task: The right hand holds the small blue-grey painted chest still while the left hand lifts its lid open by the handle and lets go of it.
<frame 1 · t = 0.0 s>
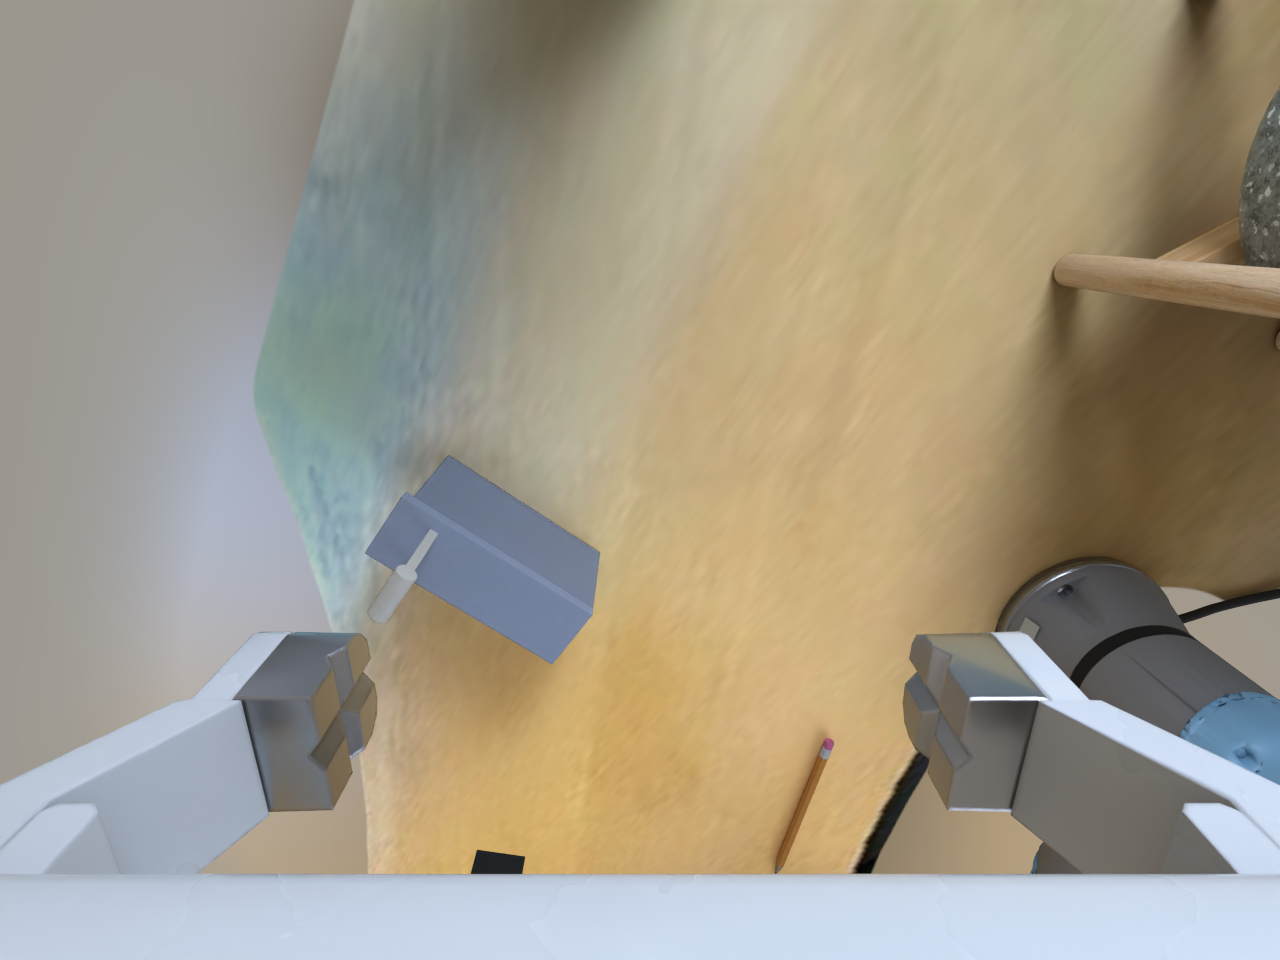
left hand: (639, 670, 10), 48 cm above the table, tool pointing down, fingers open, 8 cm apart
chest: (509, 528, 62), on the table
pencil: (800, 805, 74), on the table
lid: (471, 606, 49), point 14 cm above the table, hinge at 0.0°
planter: (1250, 173, 52), on the table
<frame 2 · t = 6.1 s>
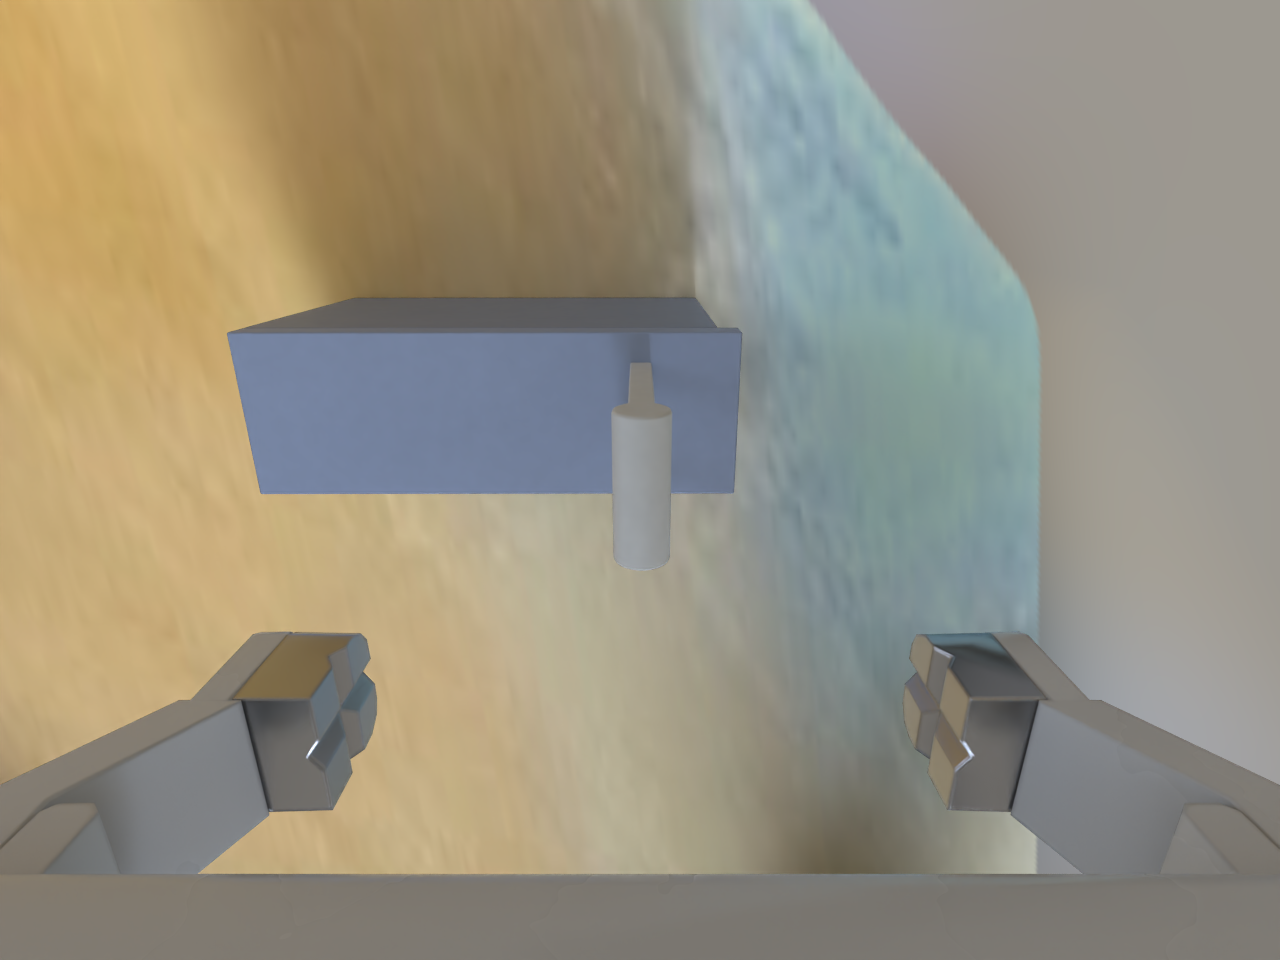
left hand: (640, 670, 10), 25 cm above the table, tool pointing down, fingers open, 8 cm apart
chest: (528, 357, 33), on the table
lid: (469, 445, 20), point 14 cm above the table, hinge at 0.0°
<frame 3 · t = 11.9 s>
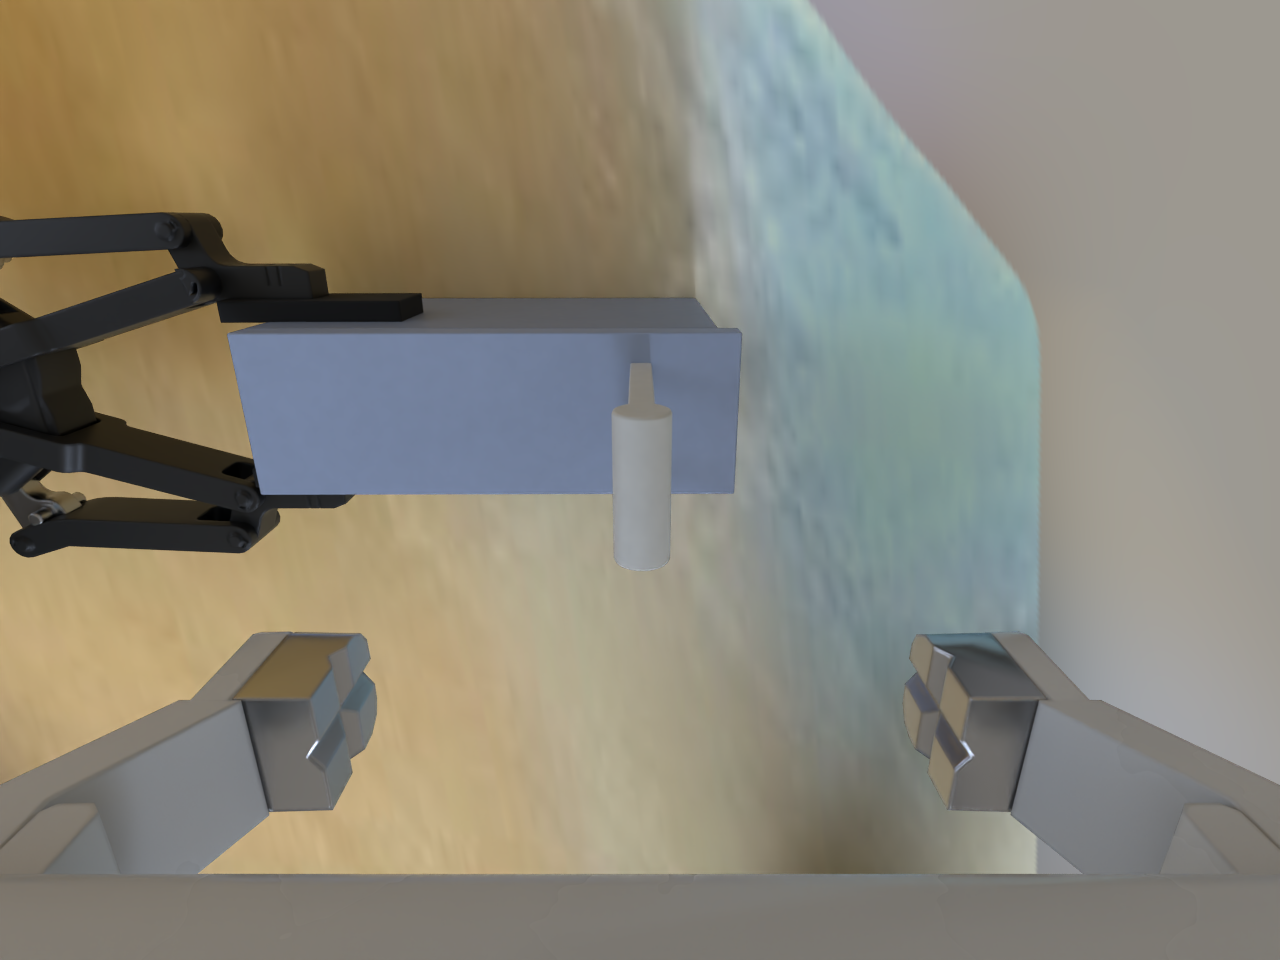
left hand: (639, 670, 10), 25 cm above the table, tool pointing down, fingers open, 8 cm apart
right hand: (420, 390, 27), fingers closed on chest, 6 cm apart
chest: (528, 358, 33), on the table, touching right hand
lid: (469, 445, 20), point 14 cm above the table, hinge at 0.0°
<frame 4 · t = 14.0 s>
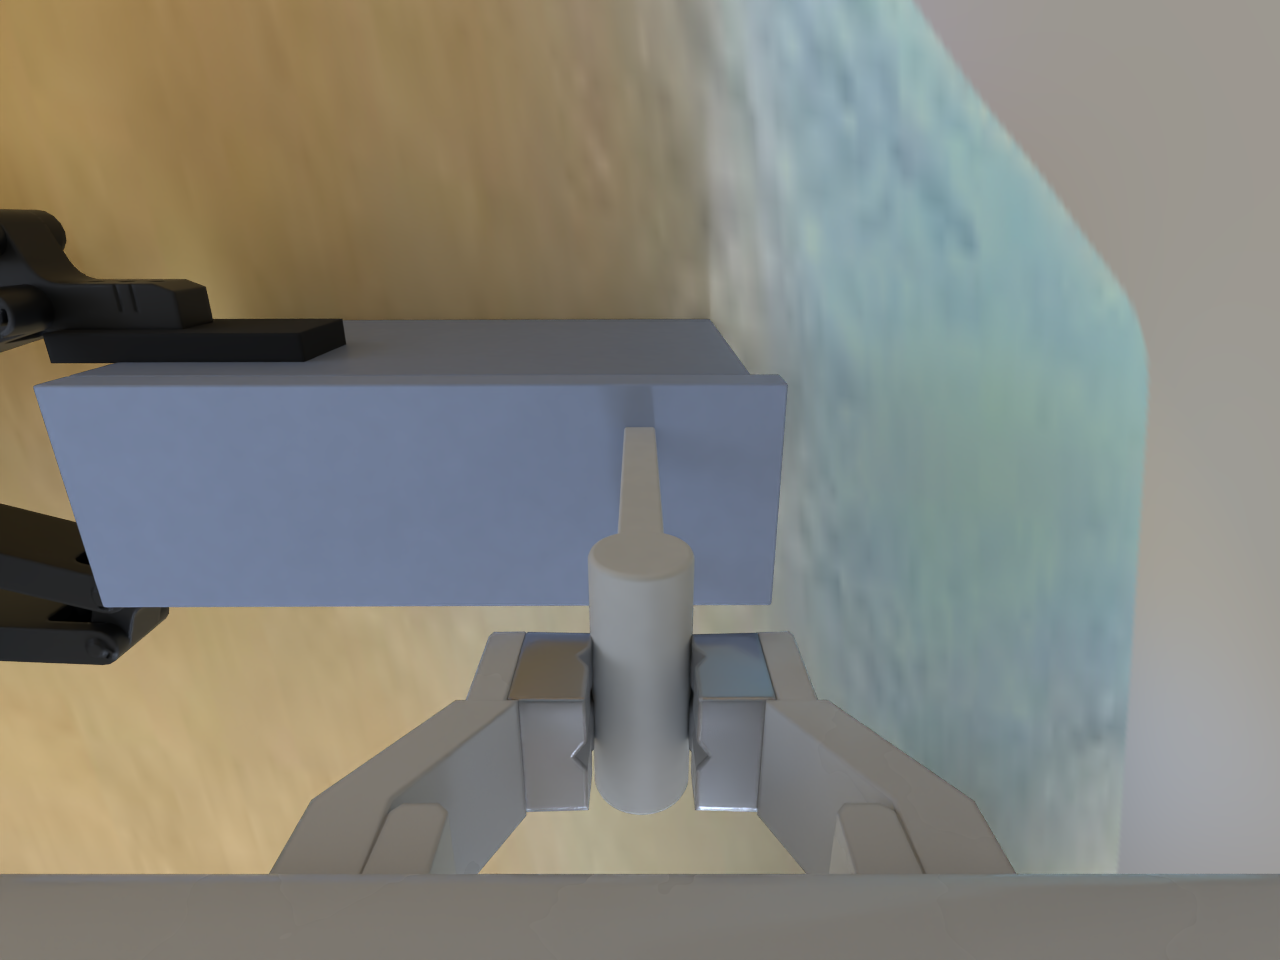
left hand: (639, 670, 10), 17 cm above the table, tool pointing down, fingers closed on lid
chest: (497, 395, 26), on the table, touching right hand
lid: (377, 565, 13), point 14 cm above the table, hinge at -0.1°, touching left hand
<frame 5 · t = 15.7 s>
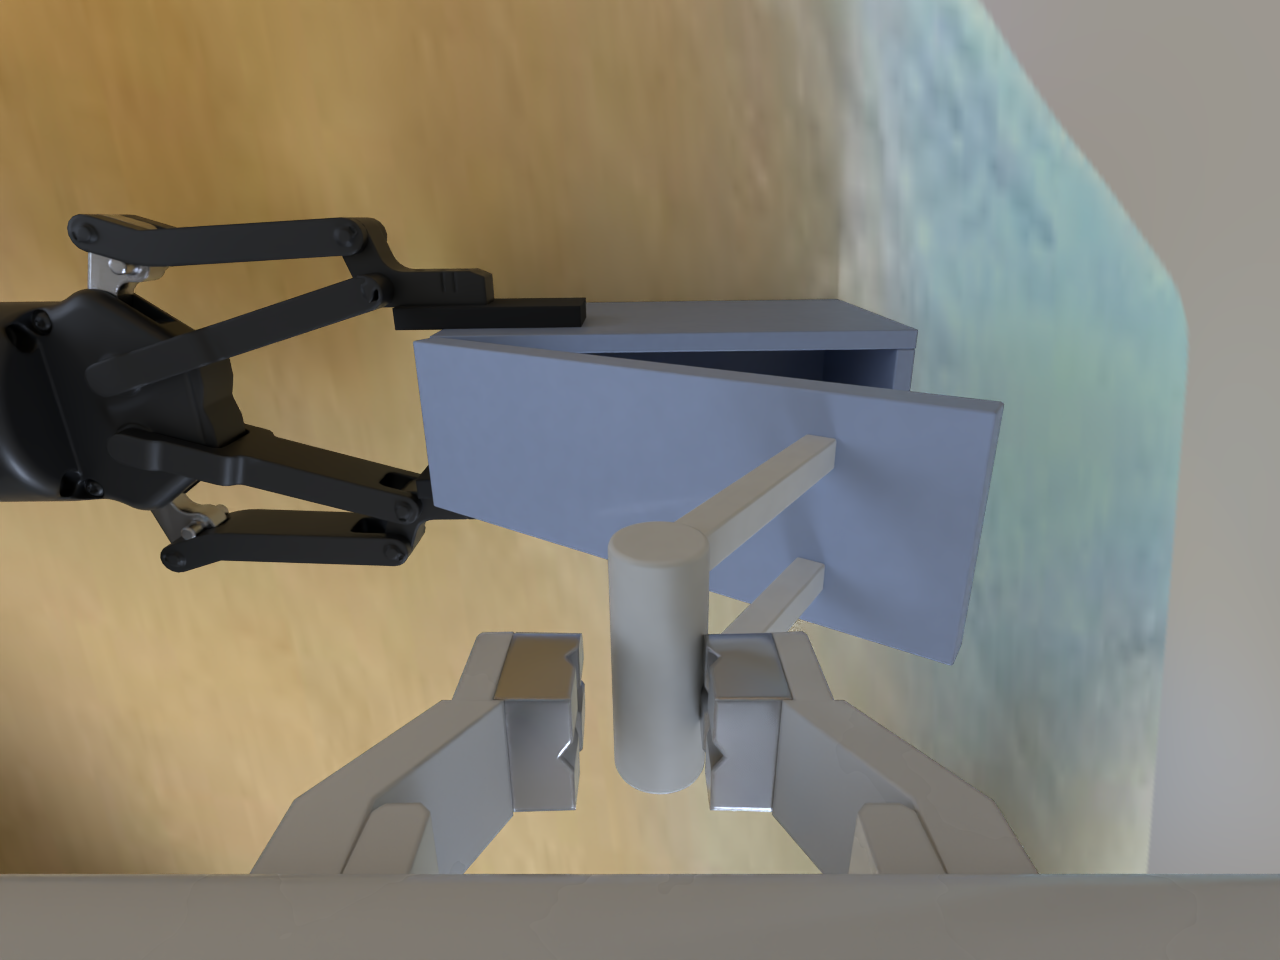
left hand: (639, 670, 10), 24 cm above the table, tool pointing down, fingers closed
right hand: (585, 397, 26), fingers closed on chest, 6 cm apart
chest: (663, 362, 33), on the table, touching right hand
lid: (553, 513, 16), point 18 cm above the table, hinge at 34.3°, touching left hand
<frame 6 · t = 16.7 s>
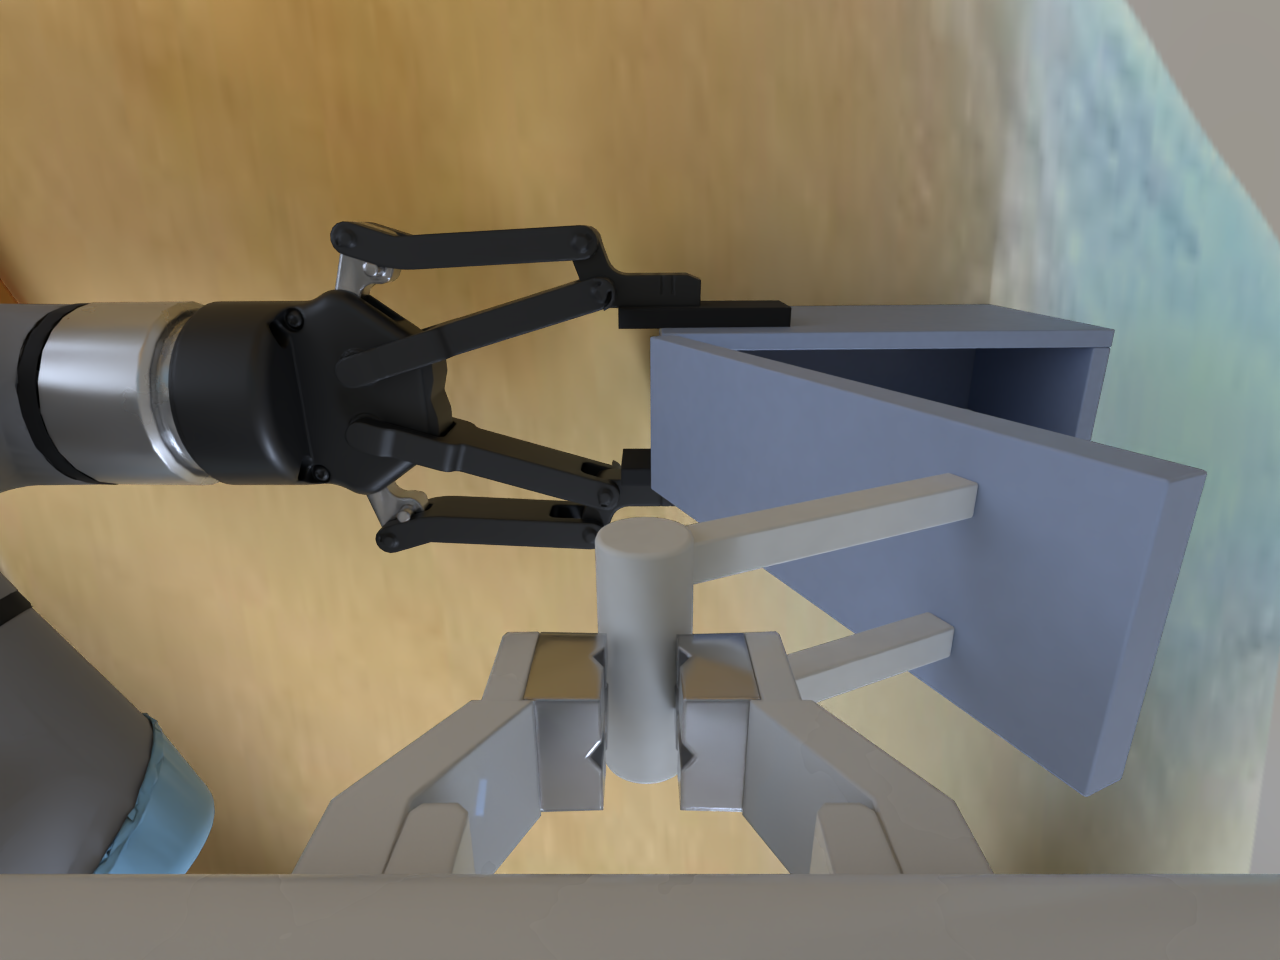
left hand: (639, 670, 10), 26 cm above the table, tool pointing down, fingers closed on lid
right hand: (778, 392, 28), fingers closed on chest, 6 cm apart
chest: (819, 363, 34), on the table, touching right hand
lid: (683, 506, 16), point 19 cm above the table, hinge at 64.2°, touching left hand
when the right hand's fingers open (7 cm above the table, at t = 20.9 s): chest stays where it is, on the table.
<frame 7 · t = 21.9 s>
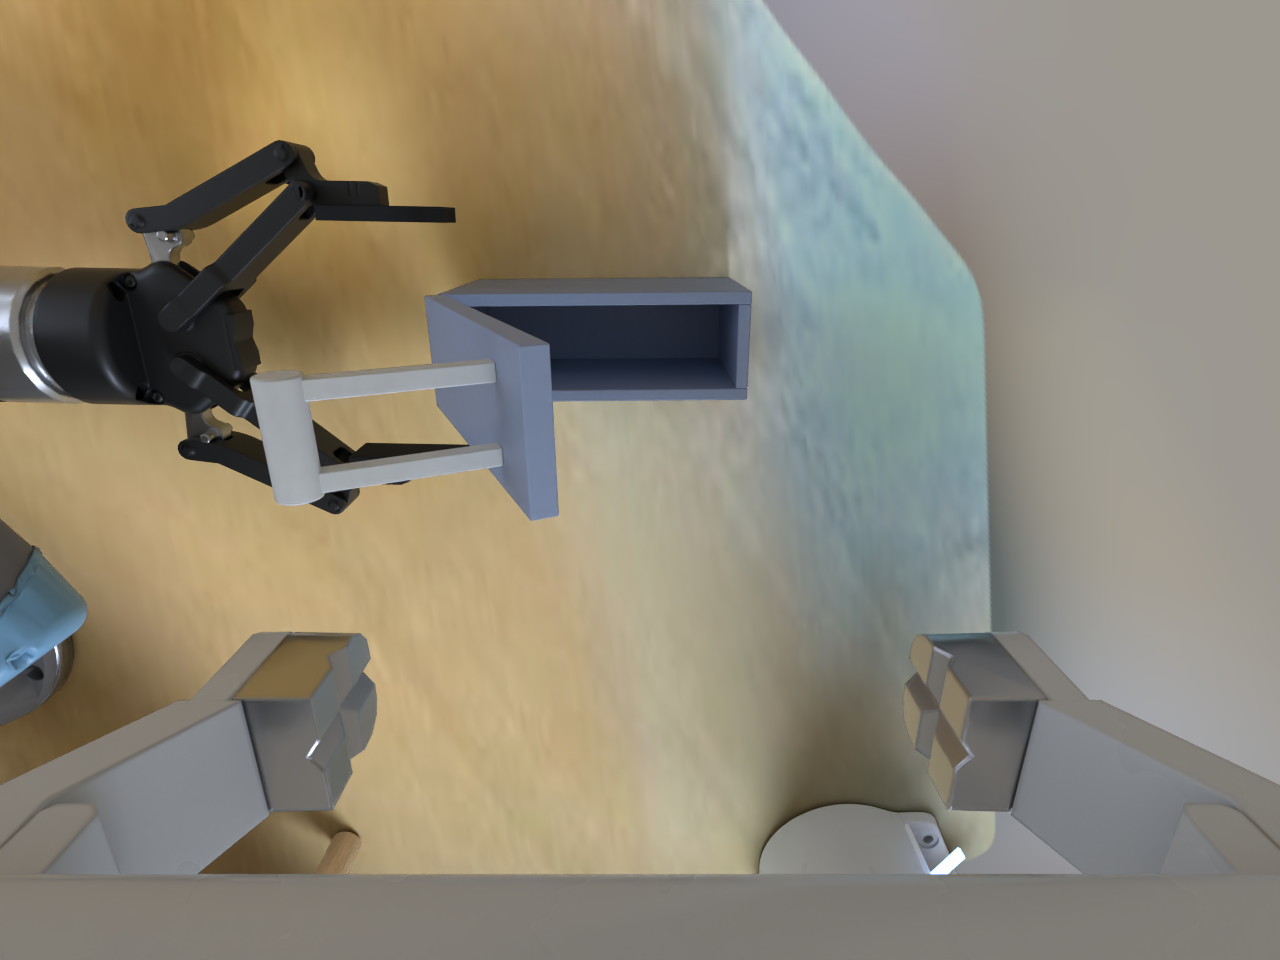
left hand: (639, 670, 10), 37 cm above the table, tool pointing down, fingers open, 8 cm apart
right hand: (459, 343, 39), fingers open, 13 cm apart
chest: (604, 323, 45), on the table
lid: (385, 392, 27), point 19 cm above the table, hinge at 64.5°
planter: (307, 940, 65), on the table
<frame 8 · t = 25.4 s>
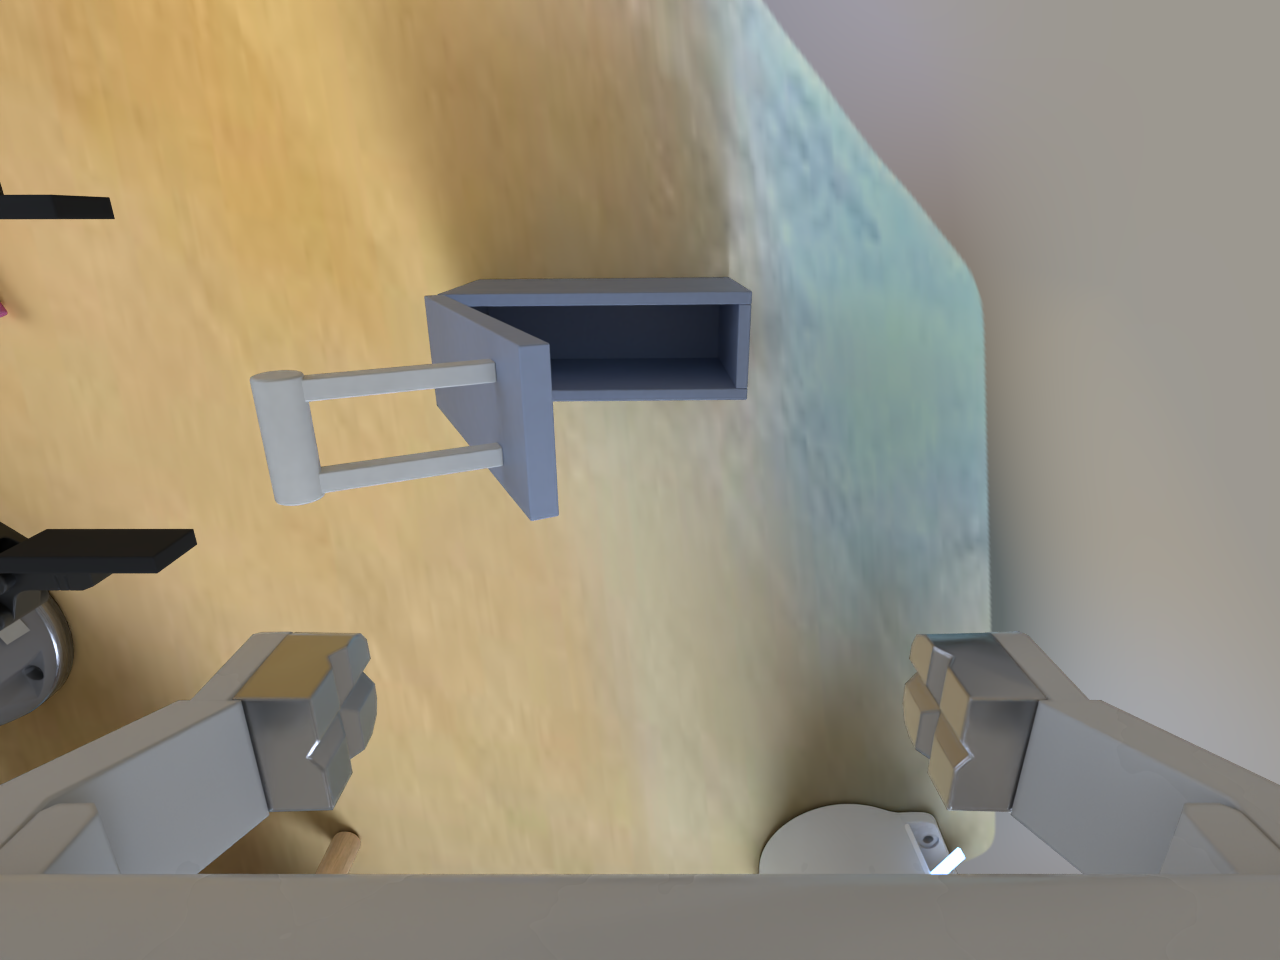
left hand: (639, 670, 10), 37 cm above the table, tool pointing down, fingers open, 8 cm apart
chest: (604, 323, 45), on the table
lid: (385, 392, 27), point 19 cm above the table, hinge at 64.5°
planter: (307, 940, 65), on the table
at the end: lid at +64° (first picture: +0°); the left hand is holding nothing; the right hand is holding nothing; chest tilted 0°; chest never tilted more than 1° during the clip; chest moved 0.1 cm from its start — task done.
